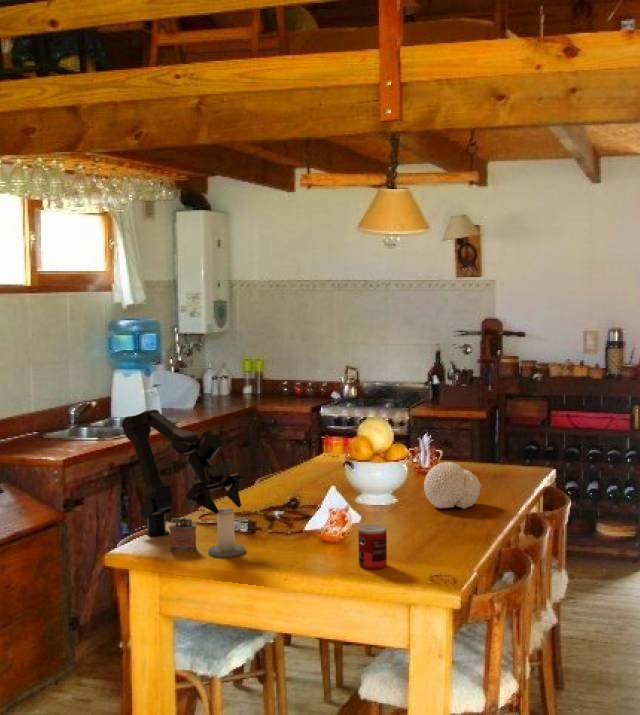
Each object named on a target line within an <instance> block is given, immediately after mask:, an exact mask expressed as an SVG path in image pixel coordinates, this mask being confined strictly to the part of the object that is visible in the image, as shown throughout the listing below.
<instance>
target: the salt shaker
mask: <svg viewBox="0 0 640 715" xmlns="http://www.w3.org/2000/svg"><path fill="white" fill-rule="evenodd" d="M217 509H218V511H219V512H218V514H216V520H217V522H216V523H217V545H218V550H219V551H232V550H234V549H235V544H236V542H235V538H236V537H235V512H234V508H233V507H221V508H217Z"/></svg>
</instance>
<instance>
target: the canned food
mask: <svg viewBox="0 0 640 715" xmlns="http://www.w3.org/2000/svg"><path fill="white" fill-rule="evenodd" d="M357 532H358V564H359V567H360V568H362V569H364V570H374V571H376V570H377V571H378V570H383V569H384V568H386V567H387V552H388V551H387V527H386V526H384V525H381V524H380V525H379V524H363V525H361V526H359V527H358V531H357Z"/></svg>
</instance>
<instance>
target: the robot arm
mask: <svg viewBox="0 0 640 715" xmlns="http://www.w3.org/2000/svg"><path fill="white" fill-rule="evenodd" d="M121 426H122V430H123V433H124V435H125V437H126V438H127V440H129V441H130V442H131V443H132V444H133V446H134V449H135V453H136V456H137V460H138V463H139V466H140V470H141V473H142V476H143V480H144V483H145V485H146V489H145V493H144V495H143V496H144V501H145V502H144V503H143V505H142V506H141V508H140V509H139V512H140V516H141V517H144V518H147V519H146V523H147V524H146V525H147V529H146V530H143V533H144V534H145V535H147V536H148V537H151V538H153V537H157V536H158V537H159V536H164V535H170V530H167V528H166V526H167V525H166V515H167V514H170V513H172V510H173V509H172V508H173V504H174V494H173V493H172V487H171V486H170V484H165V483H164V482H163V481H162V478H161V475H160V472H159V469H158V466H157V461H156V459H155V455H154V452H153V448H152V447H151V442H150V436H151V431H152V429H154V430H156V431H157V432H158V433H159V434H161V435H162V437H164V438H166V439H167V440H168V441H169V442H170V445H171V446H170V447H171V448H172V449H173V450H174V451H175V452H176V453H177V454H178V455H186V454H189V455H188V456H184V461H183V467H188V466H189V467H190V469H192V472H193V473H194V475H195V477H193V478H194V480H195V482H197V483H193V484H192V485H191V486H190V488H189V489H188V490H187V491H186V494H185V496H186V499H187V500H188V502H189V503H191V502H193V503H194V504H198V505H199V506H200V507H203V508H205V509H207V510H209V511H210V512H212V513H214V514H216V515H217V514H218V512H219V511H218V509H219V508H218V507H217V505H216V504H215V502H214V501H213V499H212V497H211V494H210V493H211V492H212V491H217V490H220V489H222V490H223V491H224V492H225V495H226V497H227V498H228V499H229V500H231V502H232V503H233V505H235V506H236V507H237V508H241V507H242V504H241V503H242V502H241V498H240V492H239V486H240V485H241V483H242V481H243V480H244V478H242V476H241V474H240V473H234V474H230V473H232V470H233V469H234V465H233V463H232V461H231V459H225V460H224V461H222V463H218V464H215V463H213V464H212V462H211V461H210V460H211V459H213V458H214V456H215V455H216V454H217V452H218V451H219V450H220V449H221V447H222V446H223V441H222V439H221V437H219V436H218V435H216V434H214V433H211V431H210V430H205V431H204V432H202V434H201V437H200V436H198V434H196V433H195V432H192V431H190V430H186V429H182V428H180V427H179V426H177V425H176V424H175V423H173V422H172V421H171V420H170V419H168V418H167V417H165V416H164V415H162V413H160V411H159V410H158V409H149V410H144V411H142V412H141V413H138V414H135V415H130V416H125V417H124V419H123V421H122V424H121ZM151 427H152V429H151ZM226 474H230V475H227V477H226V478H225V475H226ZM222 480H224V481H222ZM198 481H199V482H198Z"/></svg>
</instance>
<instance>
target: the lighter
mask: <svg viewBox="0 0 640 715" xmlns="http://www.w3.org/2000/svg"><path fill="white" fill-rule="evenodd" d="M170 521H171V525H169V528H168V529H169V532H170V534H169V539H170V542H169V543H170V544H169V545H170V546H169V551H170V552H171V551H172V552H173V553H188V552H187V551H190V552H196V551H198V549H197V547H198V546H197V533H196V531H197V530H196V529H197V525H196V524H192V523H193V519H192V518H187V517H185V516H184V517H181V518H180V517H178V518H177V517H174V518H171V520H170ZM172 524H173V525H172ZM195 550H196V551H195Z"/></svg>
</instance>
